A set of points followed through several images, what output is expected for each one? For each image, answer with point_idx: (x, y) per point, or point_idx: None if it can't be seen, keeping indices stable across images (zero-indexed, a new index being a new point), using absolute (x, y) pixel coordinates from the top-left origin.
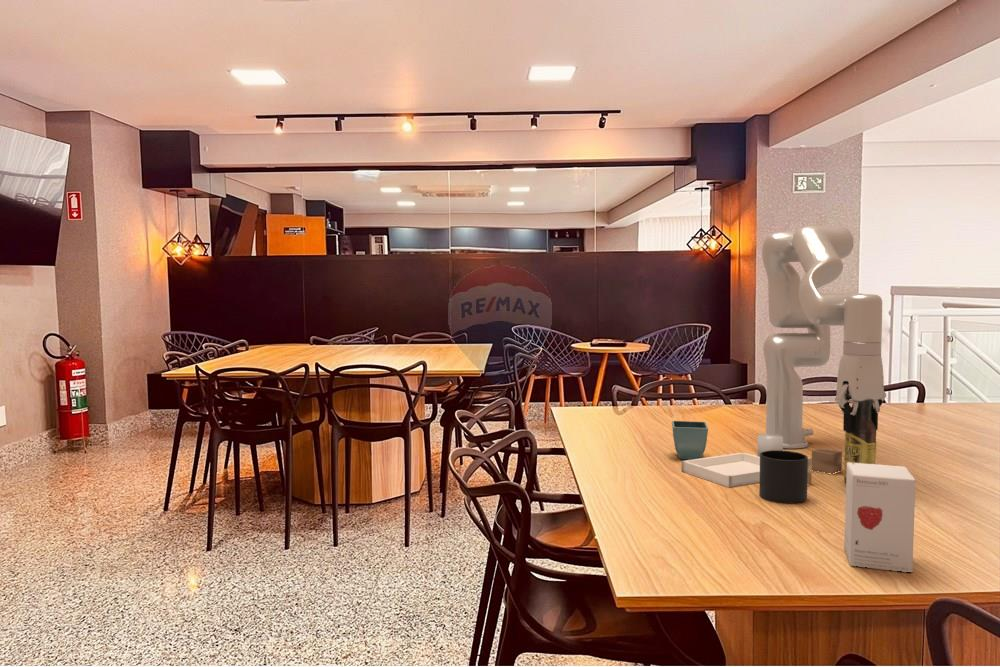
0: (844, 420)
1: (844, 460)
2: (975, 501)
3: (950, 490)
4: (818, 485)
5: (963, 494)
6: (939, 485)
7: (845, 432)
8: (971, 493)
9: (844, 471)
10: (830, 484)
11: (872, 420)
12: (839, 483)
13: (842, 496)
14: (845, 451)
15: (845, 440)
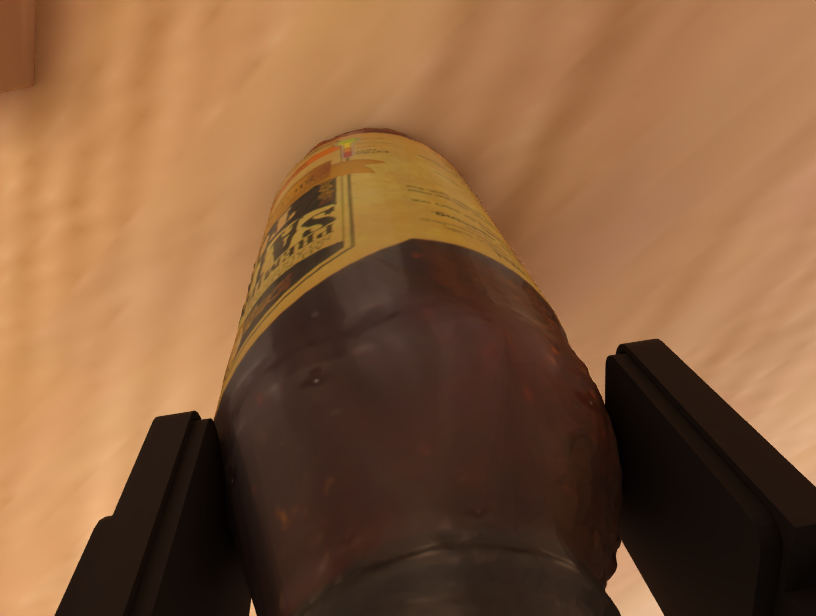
0: (61, 602)
1: (272, 222)
2: None
3: None
4: (77, 128)
5: None
6: (797, 370)
7: (252, 341)
8: None
9: (274, 204)
10: (188, 137)
11: (662, 579)
12: (273, 138)
13: (78, 385)
14: (253, 276)
15: (247, 315)
